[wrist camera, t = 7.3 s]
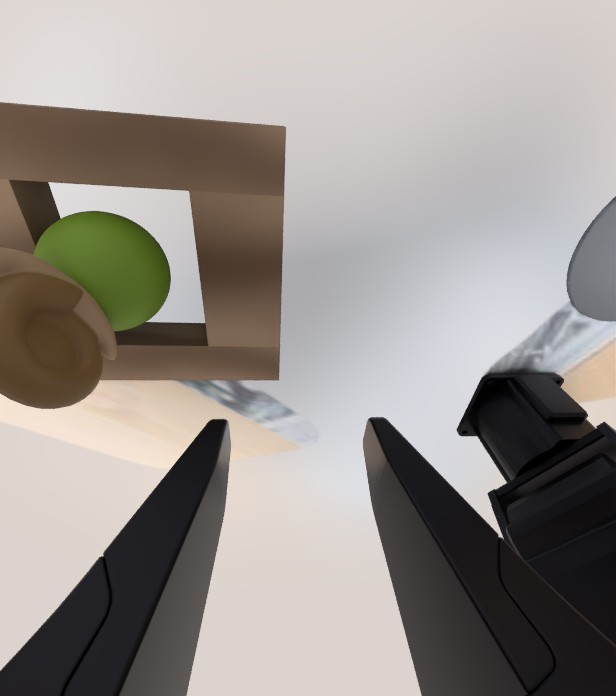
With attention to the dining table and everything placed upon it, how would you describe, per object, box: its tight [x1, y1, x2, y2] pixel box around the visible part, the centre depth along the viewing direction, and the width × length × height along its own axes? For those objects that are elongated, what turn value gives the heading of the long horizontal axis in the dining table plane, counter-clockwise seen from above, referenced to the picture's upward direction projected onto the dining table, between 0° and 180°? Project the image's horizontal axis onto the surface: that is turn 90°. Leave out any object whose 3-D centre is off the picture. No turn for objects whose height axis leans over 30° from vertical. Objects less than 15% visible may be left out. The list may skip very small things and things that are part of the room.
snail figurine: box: [0, 211, 171, 409], centre depth 12 cm, size 5×6×12 cm
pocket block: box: [0, 102, 286, 380], centre depth 17 cm, size 13×15×2 cm
